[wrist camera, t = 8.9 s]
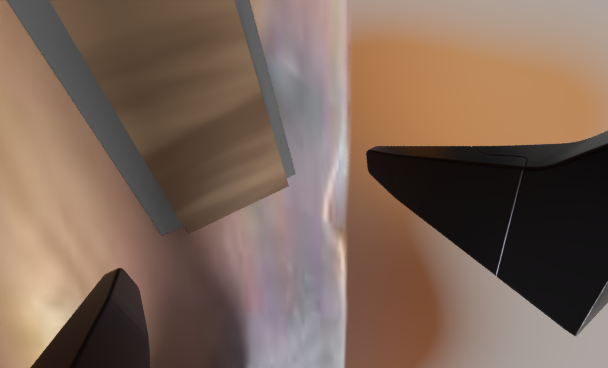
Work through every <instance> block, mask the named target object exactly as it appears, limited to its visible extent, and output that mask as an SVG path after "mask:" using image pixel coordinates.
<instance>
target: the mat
mask: <svg viewBox="0 0 608 368" xmlns="http://www.w3.org/2000/svg"><path fill="white" fill-rule="evenodd" d="M50 1H53V0H7V2H8V3H9V5H10V6H11V8H12V9H13V11H14V12H15V14H16V16H17V17H18V19H19V20H20V22H21V23H22V25H23V26H24V28H25V29H26V31H27V32H28V34H29V35H30V37H31V38H32V40H33V41H34V43H35V44H36V46H37V47H38V49H39V50H40V52H41V53H42V55H43V56H44V58H45V59H46V61H47V63H48V64H49V66H50V67H51V69H52V70H53V72H54V73H55V75H56V76H57V78H58V79H59V81H60V82H61V84H62V85H63V87H64V88H65V90H66V91H67V93H68V94H69V96H70V97H71V99H72V100H73V102H74V103H75V105H76V106H77V108H78V110H79V111H80V113H81V114H82V116H83V117H84V119H85V120H86V122H87V123H88V125H89V126H90V128H91V129H92V131H93V132H94V134H95V135H96V137H97V138H98V140H99V141H100V143H101V144H102V146H103V147H104V149H105V150H106V152H107V153H108V155H109V157H110V158H111V160H112V161H113V163H114V164H115V166H116V167H117V169H118V170H119V172H120V173H121V175H122V176H123V178H124V179H125V181H126V182H127V184H128V185H129V187H130V188H131V190H132V191H133V193H134V194H135V196H136V197H137V199H138V200H139V202H140V204H141V205H142V207H143V208H144V210H145V211H146V213H147V214H148V216H149V217H150V219H151V220H152V222H153V223H154V225H155V226H156V228H157V229H158V231H159V232H160V234H161V235H165V234H167V233H169V232H171V231H173V230H175V229H178V228H180V227H182V226H183V225H182V223H181V221H180V220H179V218H178V216H177V215H176V213H175V211H174V210H173V208H172V206H171V205H170V203H169V201H168V200H167V198H166V196H165V195H164V193H163V191H162V189H161V188H160V186H159V184H158V183H157V181H156V179H155V178H154V176H153V174H152V173H151V171H150V169H149V168H148V166H147V164H146V163H145V161H144V159H143V158H142V156H141V154H140V152H139V151H138V149H137V147H136V146H135V144H134V142H133V141H132V139H131V137H130V136H129V134H128V132H127V131H126V129H125V127H124V126H123V124H122V122H121V120H120V119H119V117H118V115H117V114H116V112H115V110H114V109H113V107H112V105H111V104H110V102H109V100H108V99H107V97H106V95H105V94H104V92H103V90H102V88H101V87H100V85H99V83H98V82H97V80H96V78H95V77H94V75H93V73H92V72H91V70H90V68H89V67H88V65H87V63H86V62H85V60H84V58H83V57H82V55H81V53H80V51H79V50H78V48H77V46H76V45H75V43H74V41H73V40H72V38H71V36H70V35H69V33H68V31H67V30H66V28H65V26H64V25H63V23H62V21H61V19H60V18H59V16H58V14H57V13H56V11H55V9H54V8H53V6H52V4H51V3H50ZM234 1H235V4H236V8H237V11H238V15H239V18H240V21H241V25H242V28H243V32H244V35H245V38H246V42H247V45H248V49H249V52H250V56H251V59H252V62H253V66H254V69H255V73H256V76H257V79H258V83H259V86H260V90H261V93H262V97H263V100H264V103H265V107H266V110H267V114H268V117H269V120H270V124H271V127H272V131H273V134H274V138H275V141H276V144H277V148H278V151H279V155H280V158H281V161H282V165H283V168H284V172H285V175H286V178H288V177H290V176H292V175H295V170H294V167H293V163H292V159H291V155H290V152H289V148H288V144H287V140H286V136H285V133H284V129H283V125H282V121H281V118H280V114H279V110H278V106H277V103H276V99H275V95H274V91H273V88H272V84H271V80H270V76H269V72H268V69H267V65H266V61H265V57H264V54H263V50H262V46H261V42H260V39H259V35H258V31H257V27H256V23H255V20H254V16H253V12H252V8H251V5H250V1H249V0H234Z"/></svg>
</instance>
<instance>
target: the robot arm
mask: <svg viewBox="0 0 608 368" xmlns="http://www.w3.org/2000/svg"><path fill="white" fill-rule="evenodd" d="M366 156H367V167H368V171H369V173H370V174H371V175H372V176H373V177H374V178H375V179H376V180H377V181H378V182H379V183H380V184H381V185H382V186H383V187H384V188H385V189H386V190H387V191H388V192H389V193H391V194H392V195H393V196H394V197H395V198H396V199H397V200H398V201H400V202H401V203H402V204H404V205H405V206H406V207H407V208H409V209H410V210H411V211H413V212H414V213H415V214H416V215H418V216H419V217H420V218H422V219H423V220H424V221H426V222H427V223H428V224H429V225H431V226H432V227H433V228H435V229H436V230H437V231H438V232H440V233H441V234H442V235H444V236H445V237H446V238H448V239H449V240H450V241H452V242H453V243H454V244H455V245H457V246H458V247H459V248H461V249H462V250H463V251H464V252H466V253H467V254H468V255H470V256H471V257H472V258H473V259H475V260H476V261H477V262H479V263H480V264H482V265H483V266H484V267H485V268H487V269H488V270H489V271H490V272H492V273H493V274H494V275H497V277H498V278H499V279H500V280H502V281H503V282H504V283H506V284H507V285H508V286H509V287H511V288H512V289H513V290H515V291H516V292H517V293H519V294H520V295H521V296H523V297H524V298H525V299H526V300H528V301H529V302H530V303H531V304H533V305H534V306H535V307H537V308H538V309H539V310H541V311H542V312H543V313H544V314H546V315H547V316H548V317H550V318H551V319H552V320H553V321H555V322H556V323H557V324H559V325H560V326H561V327H563V328H564V329H565V330H567V331H568V332H569V333H571V334H573V335H574V336H577V335H578V334H579V333H580V332H581V331H582V330H583V328H584V327H585V326H586V325H587V324H588V323H589V322H590V321H591V320H592V319H593V318H594V317H595V316H596V315H597V313H598V312H599V311H600V310H601V309H602V308H603V307H604V306H605V305H606V304H607V303H608V131H606V132H604V133H601V134H599V135H597V136H594V137H592V138H589V139H586V140H582V141H578V142H573V143H563V144H542V145H518V146H517V145H515V146H472V147H471V146H376V147H373V148H371V149H369V150H368V151H367V153H366ZM31 368H150V353H149V338H148V332H147V326H146V321H145V316H144V311H143V306H142V300H141V295H140V291H139V288H138V287H137V285H136V284H135V283H134V281H133V280H132V279H131V278H130V277H129V275H128V274H127V273H126V272H125V271H124V270H123V269H121V268H118V269H115V270H113V271H111V272H109V273H107V274H105V275H104V276H103V277H102V279H101V280H100V281H99V282H98V284H97V285H96V286H95V287H94V289H93V290H92V291H91V292H90V294H89V295H88V296H87V297H86V299H85V300H84V301H83V302H82V304H81V305H80V306H79V307H78V309H77V310H76V311H75V312H74V314H73V315H72V316H71V318H70V319H69V320H68V321H67V323H66V324H65V325H64V326H63V328H62V329H61V330H60V331H59V333H58V334H57V335H56V336H55V338H54V339H53V340H52V341H51V343H50V344H49V345H48V346H47V348H46V349H45V350H44V351H43V353H42V354H41V355H40V356H39V358H38V359H37V360H36V361H35V363H34V364H33V365H32V366H31Z"/></svg>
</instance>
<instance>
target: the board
mask: <svg viewBox="0 0 608 368" xmlns="http://www.w3.org/2000/svg"><path fill="white" fill-rule="evenodd" d="M50 3H51V4H52V6H53V8H54V9H55V11H56V13H57V14H58V16H59V18H60V19H61V21H62V23H63V25H64V26H65V28H66V30H67V31H68V33H69V35H70V36H71V38H72V40H73V41H74V43H75V45H76V46H77V48H78V50H79V51H80V53H81V55H82V57H83V58H84V60H85V62H86V63H87V65H88V67H89V68H90V70H91V72H92V73H93V75H94V77H95V78H96V80H97V82H98V83H99V85H100V87H101V88H102V90H103V92H104V94H105V95H106V97H107V99H108V100H109V102H110V104H111V105H112V107H113V109H114V110H115V112H116V114H117V115H118V117H119V119H120V120H121V122H122V124H123V126H124V127H125V129H126V131H127V132H128V134H129V136H130V137H131V139H132V141H133V142H134V144H135V146H136V147H137V149H138V151H139V152H140V154H141V156H142V158H143V159H144V161H145V163H146V164H147V166H148V168H149V169H150V171H151V173H152V174H153V176H154V178H155V179H156V181H157V183H158V184H159V186H160V188H161V189H162V191H163V193H164V195H165V196H166V198H167V200H168V201H169V203H170V205H171V206H172V208H173V210H174V211H175V213H176V215H177V216H178V218H179V220H180V221H181V223H182V225H183V227H184V228H185V230H186V232H187V233H188V234H189V233H191V232H193V231H195V230H197V229H200V228H202V227H204V226H206V225H208V224H210V223H212V222H214V221H216V220H218V219H221V218H223V217H225V216H227V215H229V214H231V213H233V212H235V211H237V210H239V209H242V208H244V207H246V206H248V205H250V204H252V203H254V202H256V201H258V200H260V199H262V198H265V197H267V196H269V195H271V194H273V193H275V192H277V191H279V190H281V189H283V188H286V187H288V186H289V185H288V182H287V179H286V175H285V172H284V168H283V165H282V161H281V158H280V155H279V151H278V148H277V144H276V141H275V138H274V134H273V131H272V127H271V124H270V120H269V117H268V114H267V110H266V107H265V103H264V100H263V97H262V93H261V90H260V86H259V83H258V79H257V76H256V73H255V69H254V66H253V62H252V59H251V56H250V52H249V49H248V45H247V42H246V38H245V35H244V32H243V28H242V25H241V21H240V18H239V15H238V11H237V8H236V4H235V1H234V0H53V1H50Z"/></svg>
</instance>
